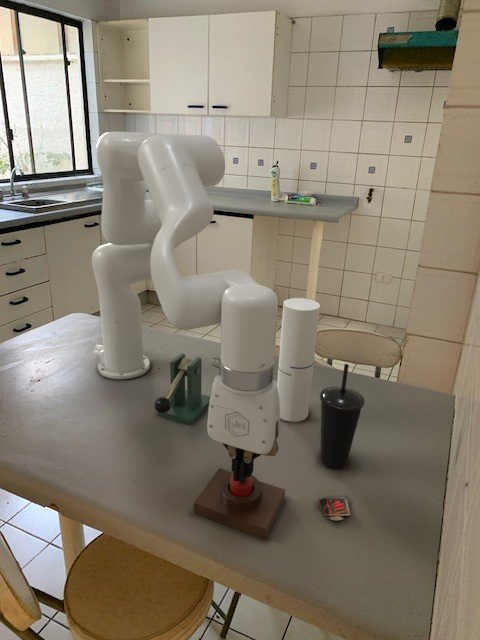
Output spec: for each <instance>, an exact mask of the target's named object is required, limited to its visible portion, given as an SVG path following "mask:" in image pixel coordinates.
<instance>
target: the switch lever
mask: <svg viewBox="0 0 480 640" xmlns="http://www.w3.org/2000/svg"><path fill="white" fill-rule="evenodd" d="M192 361H194V359H190V358H186V357H185V358H183V359H182V361H181V362H180V364H179V366H178V367H177V368H178V371H179V373H178V375H177V376H176V378H175V380H174V381H173V383H172V384H171V383H170V386H169V388H168V389H167V390H166V393H165V394H164V396H161V397H158V398H157V399H156V400H155V402H154V405H153V407H154V410H155V412H157V414H158V413H161V414H164V413H167V412H168V411H169V410H170V408H171V402H170V400H171V398H172V396H173V395H174V393H175V391H176V390H177V388H178V386H179V385H180V383H181V381H182V380H183V378H184V376H185V378H187V365H189V364H190V363H191V362H192Z"/></svg>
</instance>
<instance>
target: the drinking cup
mask: <svg viewBox="0 0 480 640" xmlns="http://www.w3.org/2000/svg"><path fill="white" fill-rule="evenodd" d="M343 366H344V367H343V374H342V382H341V386H339V385H338V386H337V385H336V386H335V385H334V386H328V387H325V388H323V389H322V390H321V391H320V393H319V400H320V446H319V447H320V448H319V449H320V452H319V456H320V458H319V459H320V462H321V464H322V465H323V466H325V468H328V469H331V470H342V469H344V468H345V467H347V463H348V460H349V456H350V453H351V448H352V444H353V442H354V439H355V438H354V437H355V433H356V429H357V426H358V422H359V419H360V415H361V412H362V408H363V407H364V406H365V402H366V401H365V398H364V396H363V394H361V393H360V392H359V391H357V390H355V389H354V388H353V389H352V388H351V387H347V386H346V385H347V380H348V372H349V366H350V365H349V364H348V363H344V365H343Z"/></svg>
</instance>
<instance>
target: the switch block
mask: <svg viewBox="0 0 480 640" xmlns="http://www.w3.org/2000/svg"><path fill="white" fill-rule="evenodd" d="M232 475H234V472H232V471H230V470H227V469H224V468H221V467H219V468H218V469H217V470H216V472H215V473H214V474H213V476H212V477H211V479H210V480H209V481H208V483H207V484H206V486H205V487H204V488H203V489H202V491H201V492H200V494H198V497H197V498H196V499H195V500H194V502H193V514H194V515H198V516H200V517H203V518H206V519H208V520H211V521H213V522H216V523H219V524H221V525H224V526H226V527H228V528H232V529H234V530H237V531H240V532H242V533H245V534H247V535H250V536H253V537H256V538H259V539H261V540H262V541H266V540H267V537H268V535H269V533H270V530H271V529H272V527H273V525H274V523H275V520H276V519H277V516H278V514H279V512H280V510H281V508H282V506H283V504H284V502H285V499H286V498H285V497H286V489H285V488H282V487H279V486H275V485H272V484H269V483H266V482H263V481H260V480H259V479H258V478H257V477H256V476H255V475H253V474H252V475H251V477H252V479H253V488H252V492H251V494H249V495H248V496H244V497H238V496H235V495H233V494H232V493H231V491H230V478H231V476H232Z"/></svg>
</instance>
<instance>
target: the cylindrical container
mask: <svg viewBox="0 0 480 640" xmlns="http://www.w3.org/2000/svg"><path fill="white" fill-rule="evenodd" d="M320 308H321V305H320V303H319V302H318V301H316V300H313V299H309V298H305V297H303V298H302V297H293V298H287V299H285V300H284V301H283V305H282V317H281V329H280V333H281V334H280V344H279V355H278V371H277V381H276V383H277V387H278V394H279V403H280V420H282V421H286V422H293V423H297V422H303V421H305V420H306V419H307V418H308V417H309V409H310V401H311V400H310V399H311V393H312V392H311V390H312V381H313V375H314V374H313V373H314V366H315V365H314V364H315V363H314V362H315V356H316V345H317V338H318V337H317V336H318V328H319V319H320V310H321V309H320Z"/></svg>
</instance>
